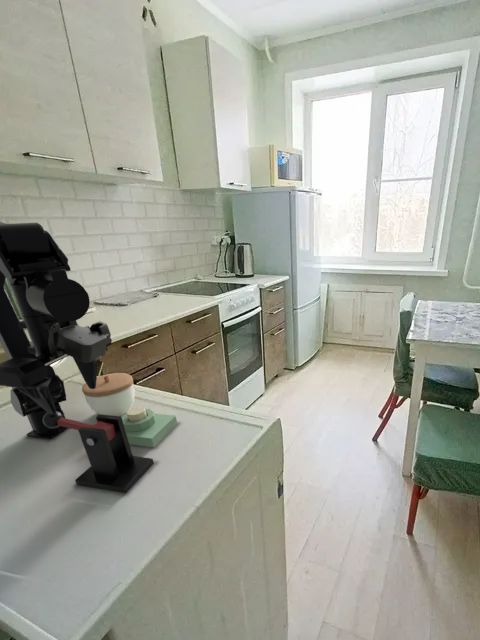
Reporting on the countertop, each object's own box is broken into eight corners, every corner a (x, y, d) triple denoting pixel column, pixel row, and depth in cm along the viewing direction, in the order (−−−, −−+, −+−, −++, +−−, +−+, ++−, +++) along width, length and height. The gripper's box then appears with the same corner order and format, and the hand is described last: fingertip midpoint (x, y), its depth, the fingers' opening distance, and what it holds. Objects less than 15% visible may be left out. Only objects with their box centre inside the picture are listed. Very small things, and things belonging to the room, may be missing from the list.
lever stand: (76, 485, 61) (56, 433, 56) (108, 457, 68) (92, 408, 63) (126, 493, 59) (108, 439, 54) (154, 463, 65) (140, 413, 61)
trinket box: (122, 424, 79) (111, 387, 75) (80, 421, 81) (68, 384, 77) (148, 401, 88) (140, 367, 84) (110, 399, 90) (100, 365, 86)
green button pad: (103, 441, 73) (98, 424, 71) (131, 419, 81) (126, 403, 79) (153, 447, 70) (149, 430, 68) (177, 423, 78) (174, 408, 76)
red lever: (40, 429, 61) (36, 414, 59) (54, 420, 63) (51, 406, 62) (105, 446, 58) (102, 431, 57) (117, 436, 61) (115, 421, 60)
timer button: (124, 421, 73) (122, 414, 72) (135, 412, 76) (133, 405, 75) (139, 423, 72) (137, 415, 71) (150, 414, 75) (148, 407, 74)
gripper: (35, 332, 45) (72, 434, 52) (126, 299, 61) (145, 380, 68) (-33, 329, 47) (11, 427, 54) (72, 298, 63) (96, 376, 70)
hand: (74, 400), depth 61 cm, fingers open, 9 cm apart
